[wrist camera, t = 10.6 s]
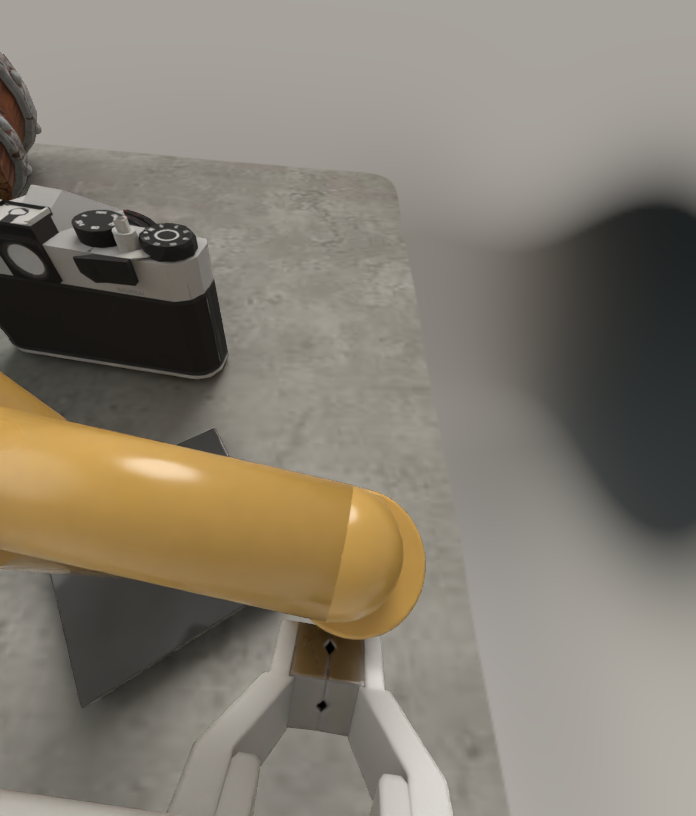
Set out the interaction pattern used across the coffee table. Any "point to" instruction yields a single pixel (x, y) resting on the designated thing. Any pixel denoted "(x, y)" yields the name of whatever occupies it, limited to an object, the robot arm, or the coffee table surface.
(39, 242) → the camera
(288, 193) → the coffee table surface
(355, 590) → the spout
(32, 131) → the mug
